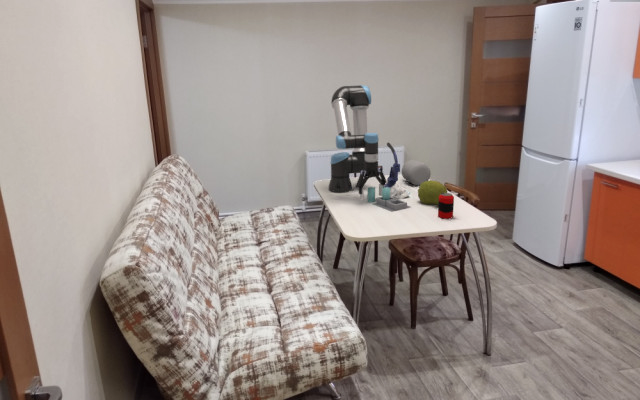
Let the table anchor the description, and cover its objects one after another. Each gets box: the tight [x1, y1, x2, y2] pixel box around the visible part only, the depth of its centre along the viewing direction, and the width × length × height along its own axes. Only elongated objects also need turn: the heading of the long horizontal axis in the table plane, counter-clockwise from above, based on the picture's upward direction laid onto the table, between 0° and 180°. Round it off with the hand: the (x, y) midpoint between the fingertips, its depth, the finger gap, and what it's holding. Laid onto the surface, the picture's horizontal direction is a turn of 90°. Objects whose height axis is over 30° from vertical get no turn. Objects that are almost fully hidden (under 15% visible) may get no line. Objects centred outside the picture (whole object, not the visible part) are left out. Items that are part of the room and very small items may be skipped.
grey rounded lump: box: [401, 159, 432, 187], centre depth 310 cm, size 19×15×25 cm
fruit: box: [417, 179, 448, 206], centre depth 262 cm, size 16×14×15 cm
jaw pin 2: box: [381, 187, 390, 201], centre depth 263 cm, size 4×4×9 cm
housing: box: [372, 196, 412, 213], centre depth 260 cm, size 18×14×4 cm
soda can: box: [437, 192, 455, 220], centre depth 241 cm, size 8×8×12 cm
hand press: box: [384, 142, 401, 188], centre depth 295 cm, size 19×9×28 cm, turn 10°
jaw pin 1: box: [366, 186, 376, 204], centre depth 268 cm, size 4×4×9 cm
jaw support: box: [390, 182, 411, 200], centre depth 276 cm, size 12×9×10 cm
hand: (371, 197), depth 268 cm, fingers open, 13 cm apart
